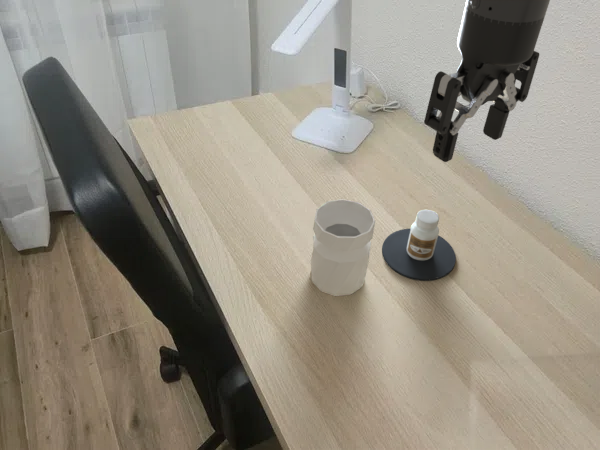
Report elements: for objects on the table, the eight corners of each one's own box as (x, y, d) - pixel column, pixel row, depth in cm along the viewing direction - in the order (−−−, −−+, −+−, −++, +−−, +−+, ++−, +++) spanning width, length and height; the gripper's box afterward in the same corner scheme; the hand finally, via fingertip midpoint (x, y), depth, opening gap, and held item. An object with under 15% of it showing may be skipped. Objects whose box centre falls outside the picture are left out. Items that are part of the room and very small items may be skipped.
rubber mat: (443, 228, 96) (443, 226, 95) (465, 278, 87) (465, 277, 86) (375, 231, 95) (375, 229, 94) (390, 282, 86) (391, 281, 85)
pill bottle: (404, 258, 89) (412, 222, 84) (407, 241, 92) (415, 205, 87) (432, 264, 88) (441, 227, 83) (433, 245, 92) (443, 210, 87)
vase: (299, 269, 87) (301, 211, 79) (343, 249, 91) (350, 192, 83) (331, 305, 82) (337, 246, 74) (377, 282, 86) (387, 224, 78)
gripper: (488, 32, 48) (449, 183, 58) (583, 3, 54) (532, 143, 65) (425, 6, 52) (400, 150, 63) (520, -19, 59) (482, 116, 69)
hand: (467, 146), depth 64 cm, fingers open, 8 cm apart
